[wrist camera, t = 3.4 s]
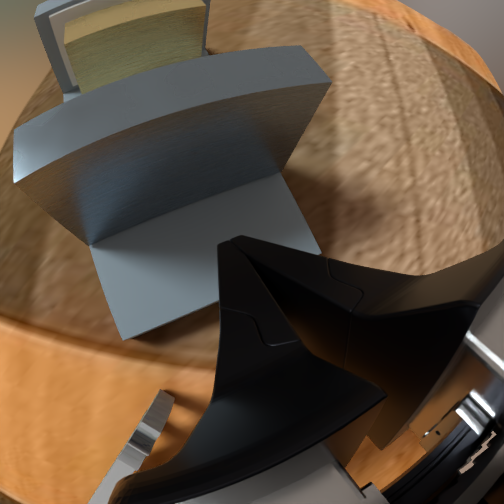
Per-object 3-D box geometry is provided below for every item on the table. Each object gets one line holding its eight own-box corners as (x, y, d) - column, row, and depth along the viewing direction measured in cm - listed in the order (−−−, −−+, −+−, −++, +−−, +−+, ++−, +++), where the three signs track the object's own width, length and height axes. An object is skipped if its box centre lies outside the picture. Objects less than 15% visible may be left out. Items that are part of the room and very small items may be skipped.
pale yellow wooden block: (199, 84, 18) (206, 5, 11) (92, 119, 16) (64, 44, 9) (186, 62, 18) (190, -11, 12) (87, 94, 16) (64, 23, 10)
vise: (309, 260, 18) (408, 198, 9) (131, 338, 15) (49, 354, 6) (192, 46, 22) (199, -42, 12) (68, 86, 19) (39, 1, 9)
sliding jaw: (281, 171, 17) (332, 81, 10) (88, 246, 14) (14, 183, 7) (260, 135, 18) (296, 40, 10) (77, 201, 14) (14, 122, 7)
